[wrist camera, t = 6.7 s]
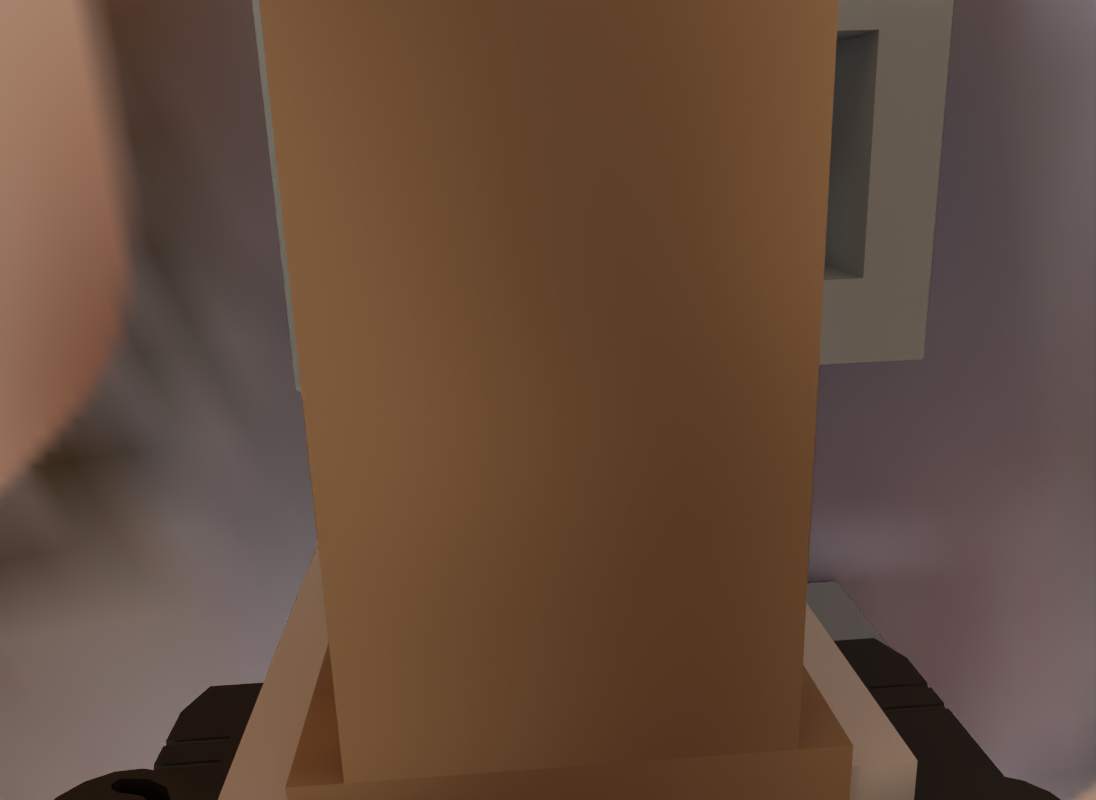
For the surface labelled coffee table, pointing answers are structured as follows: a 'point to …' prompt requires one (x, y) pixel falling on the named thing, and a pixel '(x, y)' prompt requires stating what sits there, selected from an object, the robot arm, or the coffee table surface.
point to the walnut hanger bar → (559, 392)
